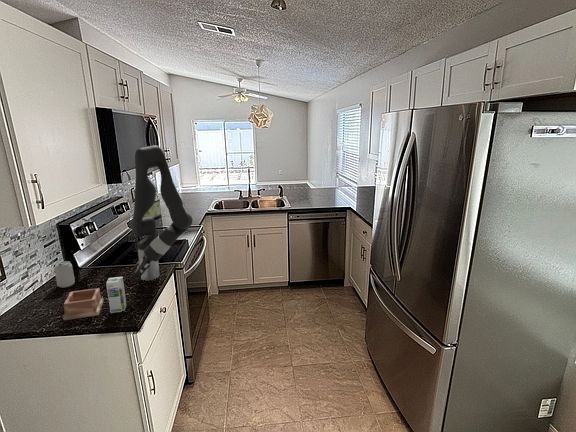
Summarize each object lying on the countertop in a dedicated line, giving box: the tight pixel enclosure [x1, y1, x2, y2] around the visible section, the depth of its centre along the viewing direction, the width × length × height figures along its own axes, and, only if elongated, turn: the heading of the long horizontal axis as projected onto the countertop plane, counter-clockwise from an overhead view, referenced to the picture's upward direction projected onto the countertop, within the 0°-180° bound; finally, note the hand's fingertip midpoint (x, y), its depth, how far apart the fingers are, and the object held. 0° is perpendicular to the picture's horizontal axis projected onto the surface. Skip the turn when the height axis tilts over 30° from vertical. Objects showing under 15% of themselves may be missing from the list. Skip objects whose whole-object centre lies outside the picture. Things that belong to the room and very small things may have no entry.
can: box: [53, 260, 76, 288], centre depth 169 cm, size 8×8×12 cm
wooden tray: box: [62, 287, 104, 321], centre depth 146 cm, size 13×13×7 cm
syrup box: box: [105, 276, 127, 314], centre depth 146 cm, size 6×6×14 cm
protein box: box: [143, 198, 162, 220], centre depth 293 cm, size 10×16×16 cm
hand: (132, 275), depth 147 cm, fingers open, 8 cm apart
